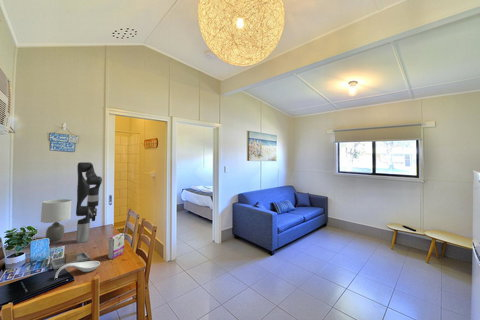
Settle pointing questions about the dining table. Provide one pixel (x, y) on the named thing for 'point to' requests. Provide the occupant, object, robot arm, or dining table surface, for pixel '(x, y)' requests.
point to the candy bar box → (116, 245)
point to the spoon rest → (81, 266)
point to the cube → (70, 256)
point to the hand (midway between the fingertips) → (91, 219)
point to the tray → (60, 262)
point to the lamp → (55, 216)
